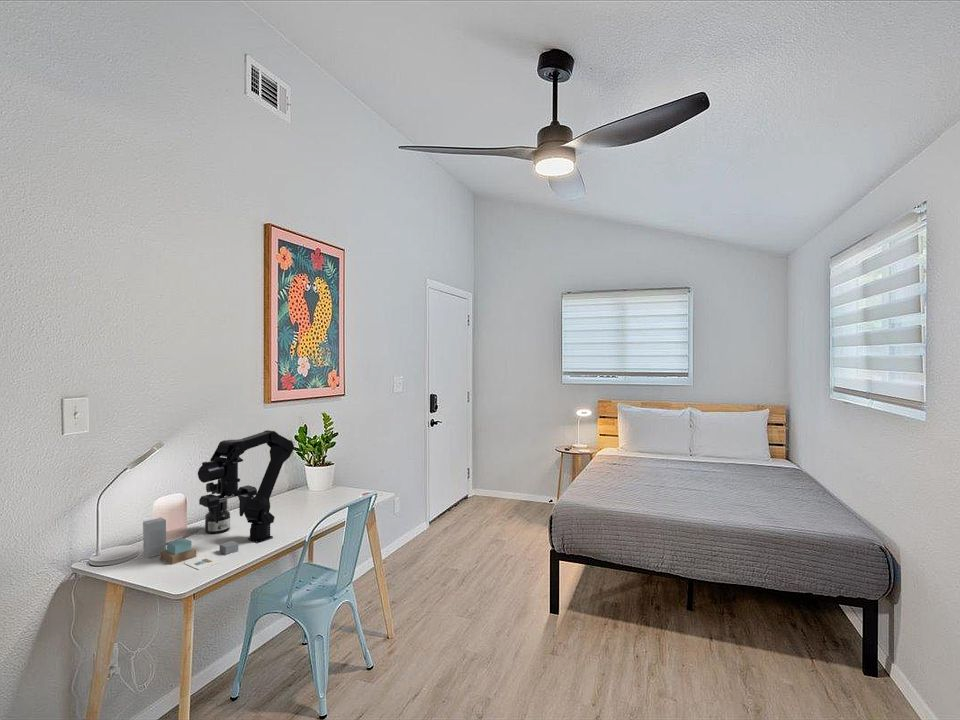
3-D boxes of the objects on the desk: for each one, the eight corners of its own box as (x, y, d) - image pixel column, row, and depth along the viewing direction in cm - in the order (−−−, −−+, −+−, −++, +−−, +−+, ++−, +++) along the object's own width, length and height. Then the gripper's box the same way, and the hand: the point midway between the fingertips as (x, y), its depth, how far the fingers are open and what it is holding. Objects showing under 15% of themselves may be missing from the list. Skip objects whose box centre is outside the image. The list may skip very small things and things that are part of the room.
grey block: (232, 548, 190) (232, 540, 190) (238, 552, 187) (238, 543, 187) (219, 552, 186) (219, 544, 186) (225, 555, 183) (225, 547, 183)
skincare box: (161, 550, 187) (161, 517, 187) (166, 553, 184) (166, 519, 184) (142, 555, 182) (142, 521, 182) (147, 558, 180) (147, 523, 179)
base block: (183, 552, 186) (183, 544, 186) (196, 558, 182) (196, 549, 182) (160, 560, 179) (160, 551, 179) (172, 565, 175) (172, 556, 175)
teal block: (183, 546, 184) (183, 537, 184) (191, 549, 181) (191, 540, 181) (166, 551, 180) (166, 542, 180) (175, 554, 177) (175, 545, 177)
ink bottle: (208, 536, 201) (208, 505, 201) (200, 530, 207) (200, 500, 207) (234, 530, 208) (234, 500, 208) (226, 525, 214) (226, 496, 214)
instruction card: (204, 556, 182) (204, 555, 182) (219, 562, 177) (219, 561, 177) (184, 563, 176) (184, 562, 176) (198, 569, 171) (198, 569, 171)
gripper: (240, 468, 198) (240, 508, 199) (190, 478, 183) (190, 522, 183) (257, 472, 192) (257, 514, 193) (208, 483, 177) (208, 528, 177)
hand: (229, 519), depth 186 cm, fingers open, 9 cm apart
